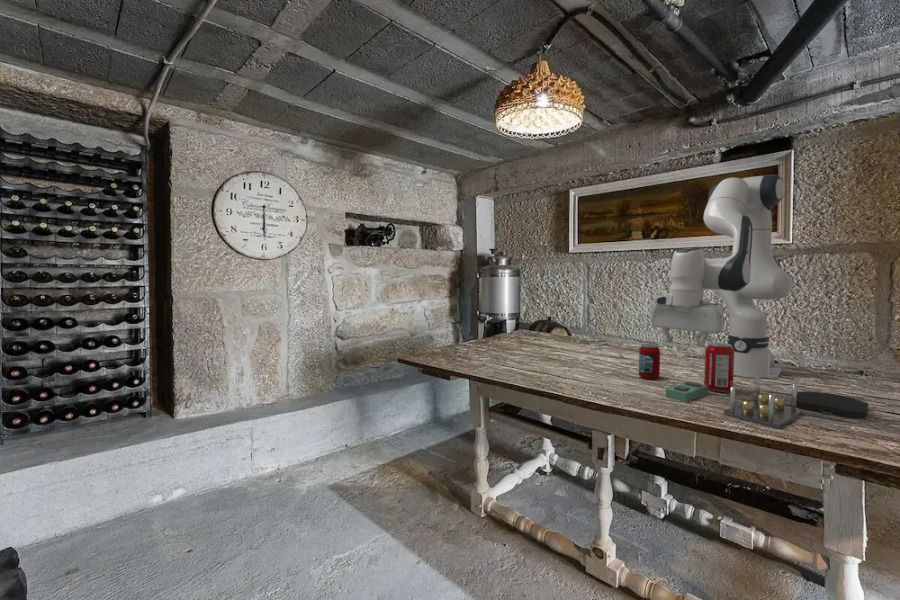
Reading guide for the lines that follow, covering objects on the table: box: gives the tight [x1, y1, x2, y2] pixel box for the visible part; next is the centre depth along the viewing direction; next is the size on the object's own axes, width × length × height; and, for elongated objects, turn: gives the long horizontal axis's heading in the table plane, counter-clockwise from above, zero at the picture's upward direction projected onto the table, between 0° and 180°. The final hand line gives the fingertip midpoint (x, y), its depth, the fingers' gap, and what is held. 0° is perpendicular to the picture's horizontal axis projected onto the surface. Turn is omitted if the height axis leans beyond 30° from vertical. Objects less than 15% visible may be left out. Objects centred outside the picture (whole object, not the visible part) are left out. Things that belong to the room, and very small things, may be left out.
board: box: [665, 381, 709, 403], centre depth 124 cm, size 14×6×4 cm, turn 124°
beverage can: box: [638, 343, 661, 381], centre depth 144 cm, size 7×7×12 cm
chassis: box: [723, 377, 803, 430], centre depth 107 cm, size 17×12×8 cm
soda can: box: [703, 342, 735, 393], centre depth 129 cm, size 8×8×15 cm
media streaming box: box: [796, 391, 869, 420], centre depth 112 cm, size 15×15×3 cm
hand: (684, 344), depth 124 cm, fingers open, 8 cm apart
